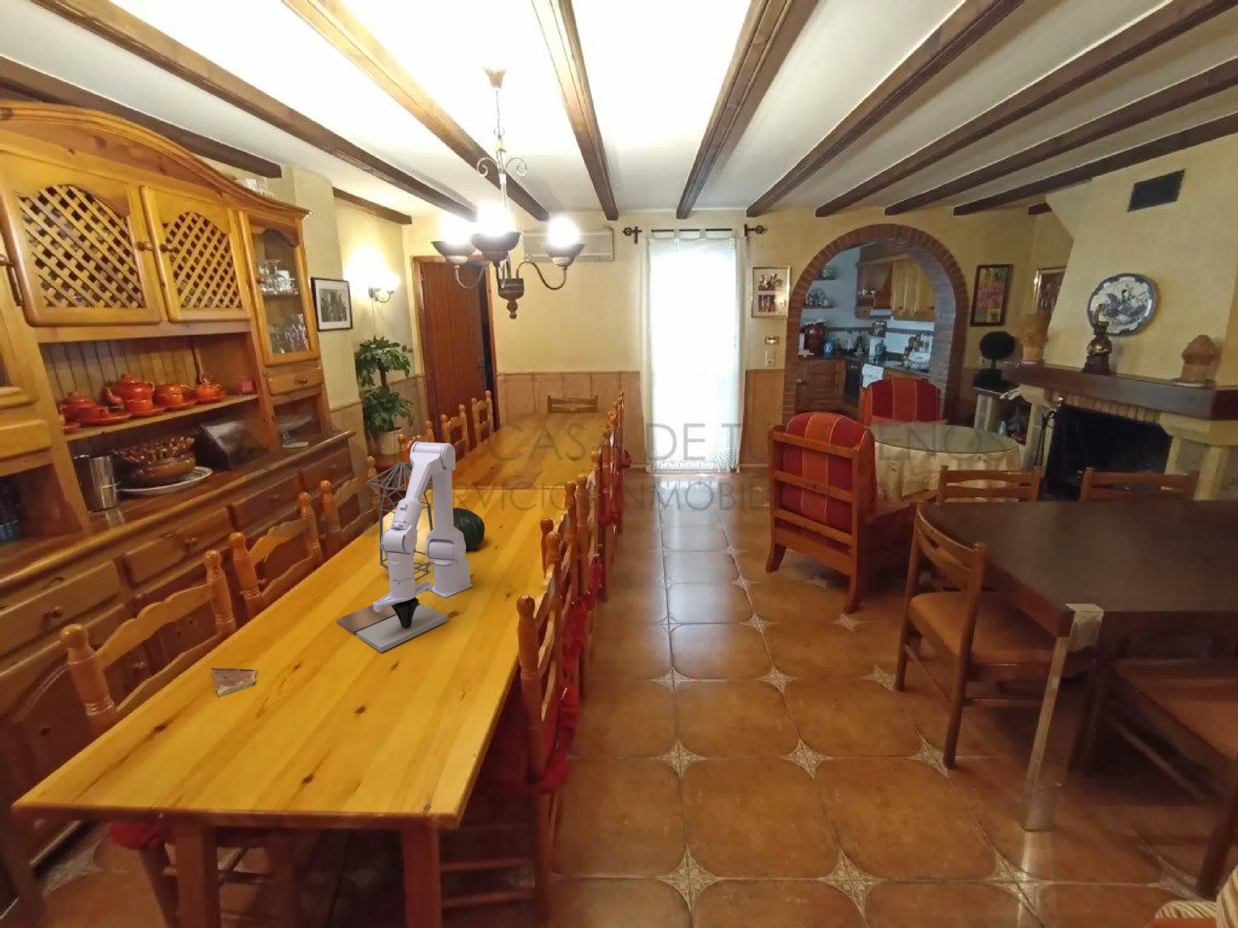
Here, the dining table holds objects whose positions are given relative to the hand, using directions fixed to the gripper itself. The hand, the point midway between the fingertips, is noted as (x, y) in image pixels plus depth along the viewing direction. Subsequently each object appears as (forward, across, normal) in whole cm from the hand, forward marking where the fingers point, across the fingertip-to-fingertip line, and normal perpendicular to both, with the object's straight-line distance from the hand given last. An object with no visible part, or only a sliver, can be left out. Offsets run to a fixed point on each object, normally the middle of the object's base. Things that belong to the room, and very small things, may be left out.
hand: (406, 626), depth 136 cm
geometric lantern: (+2, -19, -28) cm, 34 cm away
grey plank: (+1, 0, -2) cm, 2 cm away
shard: (+2, +35, -11) cm, 37 cm away
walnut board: (+2, 0, -13) cm, 13 cm away
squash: (+2, -42, -33) cm, 54 cm away
